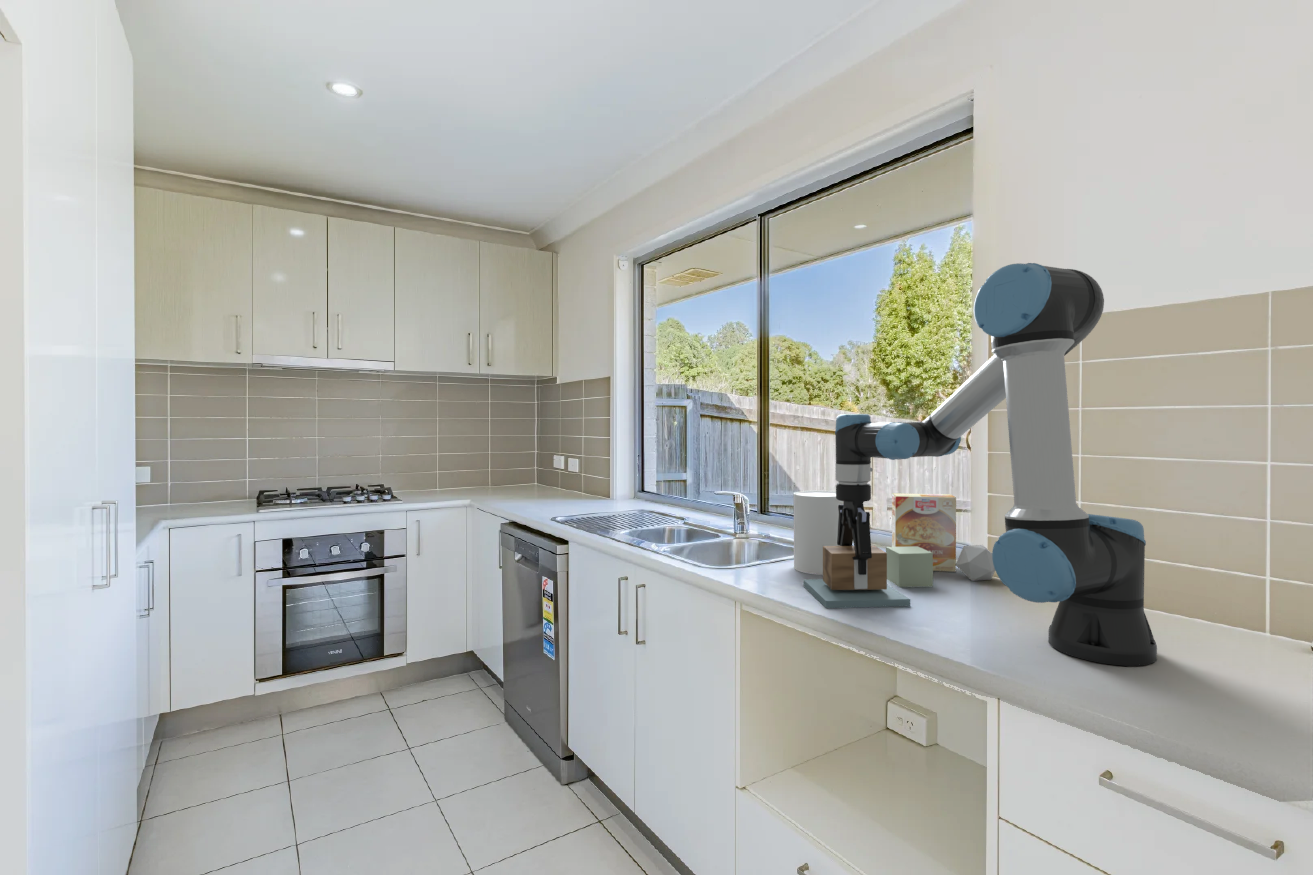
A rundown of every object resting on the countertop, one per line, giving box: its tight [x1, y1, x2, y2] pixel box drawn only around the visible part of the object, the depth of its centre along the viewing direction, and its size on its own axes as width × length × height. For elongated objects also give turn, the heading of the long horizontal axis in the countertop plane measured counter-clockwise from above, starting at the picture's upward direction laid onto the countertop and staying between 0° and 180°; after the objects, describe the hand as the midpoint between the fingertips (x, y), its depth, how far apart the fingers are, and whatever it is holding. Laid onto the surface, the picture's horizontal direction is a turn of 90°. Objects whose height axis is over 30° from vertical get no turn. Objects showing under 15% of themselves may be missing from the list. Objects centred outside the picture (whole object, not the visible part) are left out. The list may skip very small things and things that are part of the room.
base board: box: [802, 578, 911, 609], centre depth 143 cm, size 18×18×2 cm
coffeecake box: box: [891, 492, 957, 573], centre depth 168 cm, size 15×7×20 cm, turn 77°
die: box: [956, 544, 996, 582], centre depth 156 cm, size 8×9×10 cm
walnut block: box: [822, 545, 888, 590], centre depth 143 cm, size 8×12×8 cm, turn 89°
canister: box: [793, 490, 844, 576], centre depth 169 cm, size 14×14×20 cm
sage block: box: [885, 546, 934, 588], centre depth 154 cm, size 8×8×8 cm
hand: (853, 583), depth 143 cm, fingers closed on walnut block, 8 cm apart
